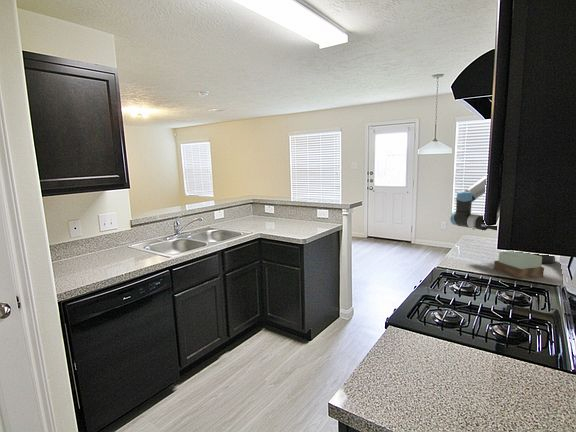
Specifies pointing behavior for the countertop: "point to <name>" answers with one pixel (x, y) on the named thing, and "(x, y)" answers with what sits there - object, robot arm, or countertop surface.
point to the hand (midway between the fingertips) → (524, 229)
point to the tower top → (520, 259)
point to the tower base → (518, 271)
